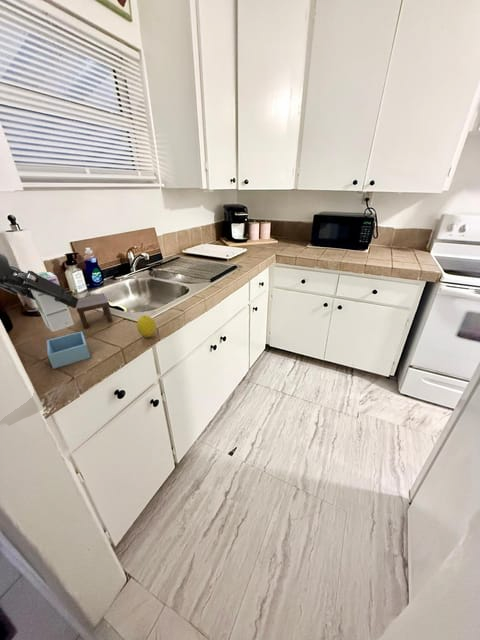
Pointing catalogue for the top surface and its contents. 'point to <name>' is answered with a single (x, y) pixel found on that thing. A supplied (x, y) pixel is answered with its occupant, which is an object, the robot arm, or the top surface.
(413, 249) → the top surface
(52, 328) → the syrup box
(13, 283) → the robot arm
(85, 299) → the stool
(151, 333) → the lemon
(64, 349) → the bin
